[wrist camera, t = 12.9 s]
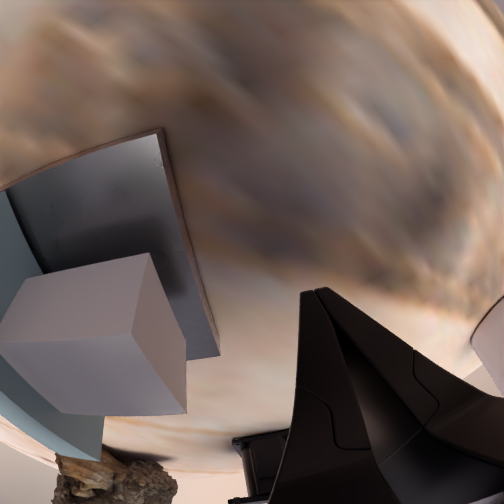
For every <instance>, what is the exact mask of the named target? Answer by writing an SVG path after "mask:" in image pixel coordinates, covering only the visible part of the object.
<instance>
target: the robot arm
mask: <svg viewBox="0 0 504 504" xmlns="http://www.w3.org/2000/svg"><path fill="white" fill-rule="evenodd" d="M232 445H233V447H234V448H235V449H236V451H237V452H238V454H239V455H240V456H241V457H242V461H243V467H244V473H245V479H246V485H247V491H248V497H244V498H239V497H235V498H234V499H230V500H228V504H264V503H267V504H504V398H501V397H495V396H492V395H489V394H487V393H485V392H483V391H481V390H479V389H477V388H475V387H474V386H472V385H470V384H469V383H467V382H465V381H463V380H462V379H460V378H458V377H456V376H455V375H453V374H451V373H450V372H448V371H446V370H445V369H443V368H441V367H440V366H438V365H437V364H435V363H434V362H432V361H431V360H429V359H428V358H427V357H425V356H424V355H422V354H421V353H420V352H418V351H417V350H413V348H412V347H411V346H410V345H408V344H407V343H406V342H404V341H403V340H401V339H400V338H399V337H397V336H396V335H395V334H393V333H392V332H390V331H389V330H388V329H386V328H385V327H383V326H382V325H381V324H379V323H378V322H376V321H375V320H374V319H372V318H371V317H369V316H368V315H367V314H365V313H364V312H362V311H361V310H360V309H358V308H357V307H355V306H354V305H353V304H351V303H350V302H348V301H347V300H346V299H344V298H343V297H341V296H340V295H338V294H337V293H336V292H334V291H333V290H331V289H330V288H328V287H322V288H317V289H315V290H314V291H313V290H308V291H303V292H301V293H300V306H299V333H298V354H297V371H296V388H295V399H294V408H293V416H292V421H291V426H290V430H286V431H282V432H277V433H272V434H267V435H261V436H255V437H249V438H243V439H236V440H233V441H232Z"/></svg>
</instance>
